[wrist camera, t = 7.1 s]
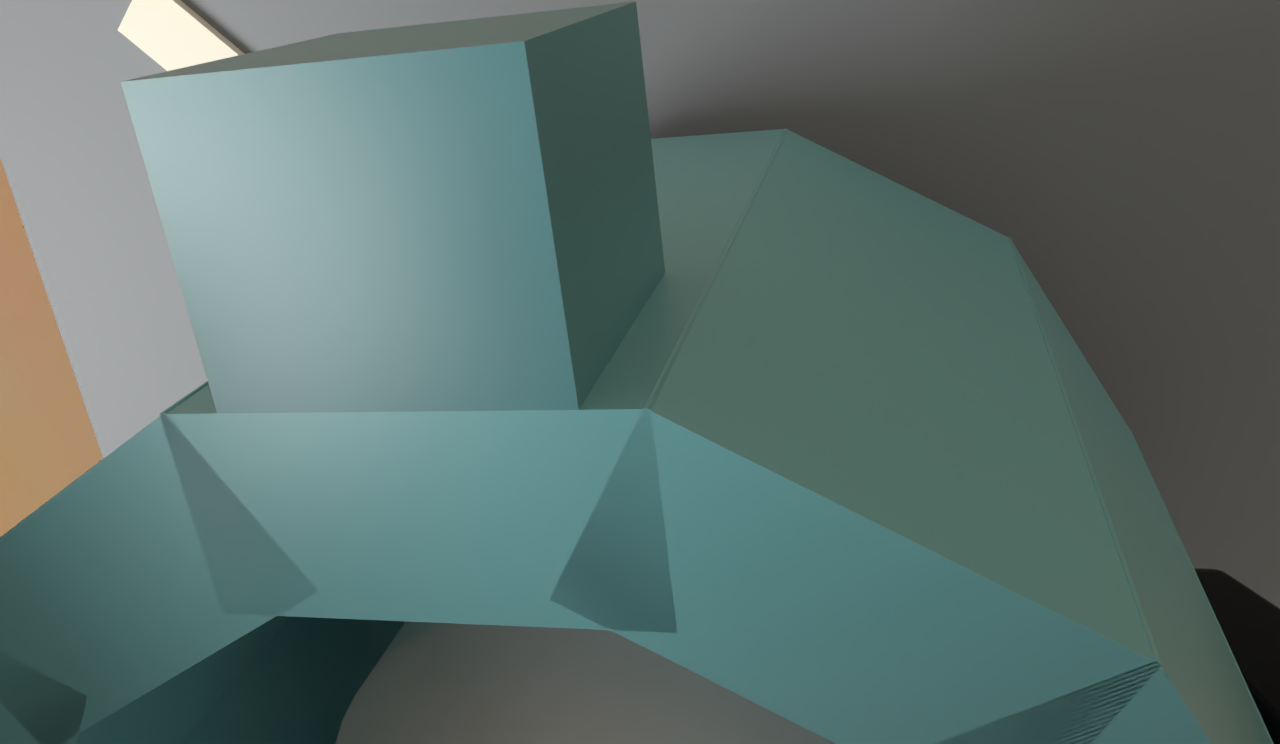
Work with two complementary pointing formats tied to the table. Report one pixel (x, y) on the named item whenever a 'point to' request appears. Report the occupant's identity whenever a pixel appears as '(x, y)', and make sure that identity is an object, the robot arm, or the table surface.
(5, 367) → the table surface
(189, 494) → the mug with handle
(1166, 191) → the flat gray panel
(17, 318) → the table surface
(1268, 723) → the robot arm
